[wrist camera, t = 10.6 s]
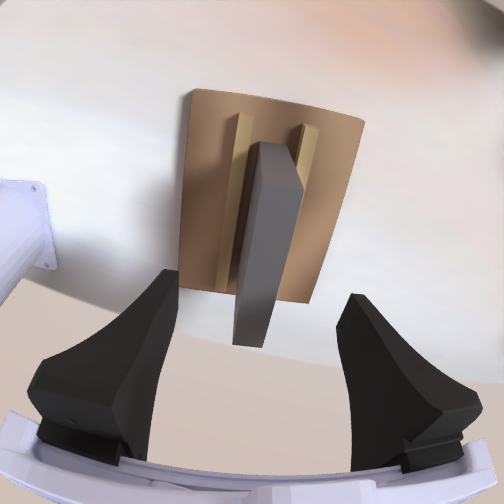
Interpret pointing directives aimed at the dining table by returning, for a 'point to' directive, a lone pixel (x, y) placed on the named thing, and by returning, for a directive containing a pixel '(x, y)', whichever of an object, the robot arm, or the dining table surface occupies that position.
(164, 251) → the dining table surface
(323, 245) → the board
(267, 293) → the grey upright slab
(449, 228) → the dining table surface
